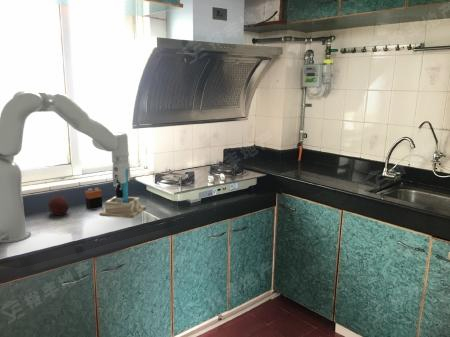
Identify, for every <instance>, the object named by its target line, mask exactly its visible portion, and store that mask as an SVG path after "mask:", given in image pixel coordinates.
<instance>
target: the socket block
mask: <svg viewBox="0 0 450 337" xmlns="http://www.w3.org/2000/svg"><path fill="white" fill-rule="evenodd" d="M145 209H146V205H141V198H140V197H137V196H128V203H123V202H117V197H116V195H115V196H113V197H112V198H110V199H108V200H106V201H105V202H104V210H103V211H100V213H98V214H99V216H100V217H101V216H102V217H104V216H105V217H117V218H127V219H128V218H131V219H133V218H135V217H136V216H137V215H139V214H140V213H141V212H143V211H145Z"/></svg>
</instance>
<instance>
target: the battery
mask: <svg viewBox="0 0 450 337" xmlns="http://www.w3.org/2000/svg"><path fill="white" fill-rule="evenodd" d="M84 192H85V194H84V195H85V196H84V197H85V205H86V206H85V207H86V209H88V210H90V211H91V210H95V209H99V208H103V194H102V189H100V188H99V187H95V188H87V190H85V191H84Z"/></svg>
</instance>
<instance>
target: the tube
mask: <svg viewBox="0 0 450 337" xmlns="http://www.w3.org/2000/svg"><path fill="white" fill-rule="evenodd" d="M128 172H129V169H127V171H126V183H124V184H122V190H123V198H117V202H123V203H128V197H129V181H128ZM118 183H119V182H118ZM118 185H119V186H120V184H118Z"/></svg>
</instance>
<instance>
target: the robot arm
mask: <svg viewBox="0 0 450 337" xmlns="http://www.w3.org/2000/svg"><path fill="white" fill-rule="evenodd" d="M38 112H39V113H40V112H44V113H45V112H53V113H56V114H57V116H58V117H60V118H62V120H64V121H65V122H66V123H67V124H68V125H69V126H70V127H71V128H72V129H74V130H76V131H77V132H79V133H82V134H84V135H86V136H87V137H89V138H90V139H92V144H93V146H94V147H95V148H96V149H98V150H101V151H106V152H111V162H112V171H111V172H112V183H113V187H114V188H115V196H116V197H117V198H123V190H122V184H124V183H126V171H127V169H129V172H128V182H129V181H130V180H131V169H130V168H131V166H130V163H129V144H128V141H129V140H128V138H129V137H128V135H127V133H126V132H113V133H112V132H111V131H110V130H109V129H108V128H107V127H106V126H105V125H103V124H102V123H101V122H99V121H98V120H96V119H95V118H94V117H93V116H91V115H89V114H88V113H87V112H86V111H84V109H83V108H82V107H81V106H79V105H78V104H77V103H76V102H75V101H74V100H73V99H72V98H71V97H69V96H68V95H67V94H66V93H64V92H62V91H32V90H20V91H18V92H16V93H15V94H14V95H13V96H12V98H11V99H9V100H8V102H6V104H5V105H4V106H3V107H2V110H1V113H0V243H3V244H4V243H5V244H7V243H14V242H20V241H22V240H26V239H27V238H29V237H30V236H31V230H30V229H27V227H26V219H25V210H24V209H25V208H24V198H23V191H22V189H23V188H22V181H23V180H22V177H23V176H22V171H21V168H20V166H19V165H18V164H17V163H16V162H14V160H15V156H18V155H19V154H20V153H21V151H22V149H23V148H22V147H23V136H24V128H25V124H26V120H27V119H28V117H29V116H31V114H33V113H38ZM118 182H119V183H118ZM118 184H120V186H119V185H118Z"/></svg>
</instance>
